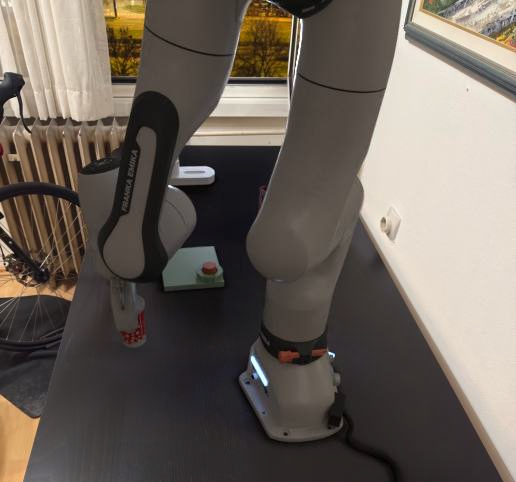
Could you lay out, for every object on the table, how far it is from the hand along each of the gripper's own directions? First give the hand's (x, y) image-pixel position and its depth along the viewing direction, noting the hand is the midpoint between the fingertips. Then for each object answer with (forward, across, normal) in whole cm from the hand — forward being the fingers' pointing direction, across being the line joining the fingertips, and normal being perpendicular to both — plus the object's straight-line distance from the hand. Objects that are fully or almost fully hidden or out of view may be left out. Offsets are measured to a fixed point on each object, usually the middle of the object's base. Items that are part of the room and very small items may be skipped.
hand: (130, 318), depth 91 cm
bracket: (+7, +78, -18) cm, 81 cm away
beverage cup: (+6, 0, 0) cm, 6 cm away
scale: (+8, +26, -14) cm, 31 cm away
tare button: (+5, +21, -18) cm, 29 cm away
